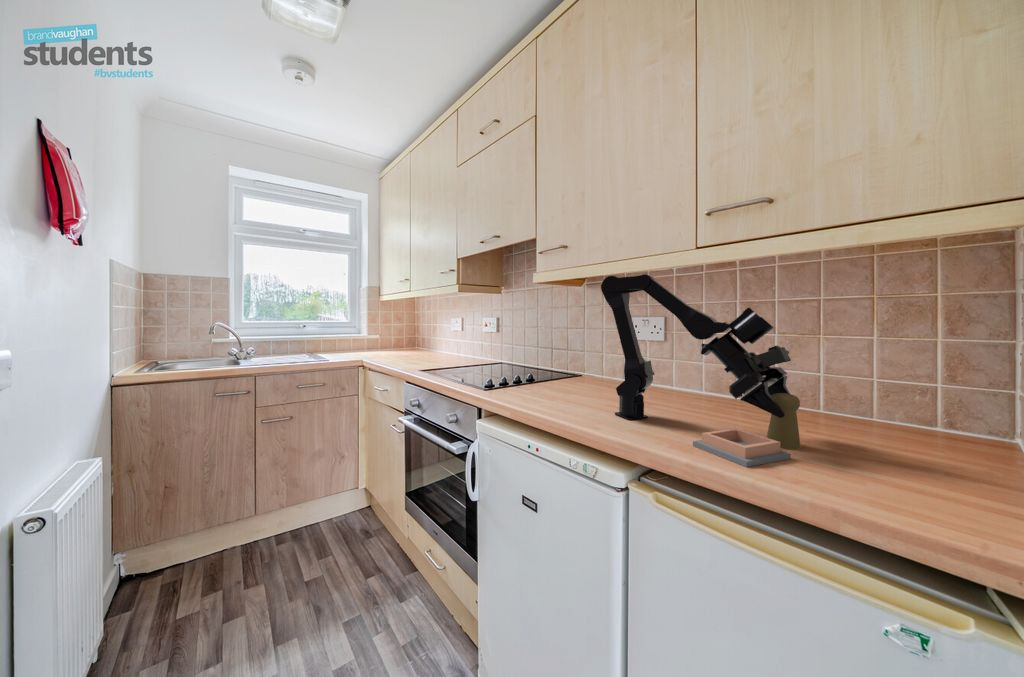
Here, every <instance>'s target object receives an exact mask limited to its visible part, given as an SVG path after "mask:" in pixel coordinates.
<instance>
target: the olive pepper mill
mask: <svg viewBox="0 0 1024 677" xmlns="http://www.w3.org/2000/svg"><path fill="white" fill-rule="evenodd" d="M772 398H773V399H774V400H775V401H776V403H777V404H778V405H779V407H780V408H781V409H782V411H783V412H784V414H785V416H784V417H782V418H779V417H777V416H775V415H773V414H771V413H770V414H771V415H770V421H769V424H768V430H767V435H766V438H769V439H772V440H775V441H779V442H780V449H783V450H785V449H786V450H800V449H801V448H802V447H801V440H800V430H799V423H798V415H797V414H798V413H797V411H798V410H799V409H798V408H800V406H801V400H800V398H799V397H798V396H796V395H794V394H792V393H790V394H786V393H776V394H773V395H772ZM797 409H798V410H797Z"/></svg>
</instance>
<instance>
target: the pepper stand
mask: <svg viewBox="0 0 1024 677" xmlns="http://www.w3.org/2000/svg"><path fill="white" fill-rule="evenodd" d="M692 446H693V447H696V448H698V449H700V450H703V451H705V452H708V453H710V454H712V455H714V456H718V457H720V458H723V459H725V460H727V461H730V462H732V463H735V464H737V465H740V466H742V467H745V468H748V467H753V466H759V465H762V464H763V465H764V464H769V463H773V462H779V461H784V460H789V459H791V456H792V453H791V452H787V451H786V450H781V448H780V442H779V441H775V440H772V439H769V438H767V436H766V437H765V436H762V435H759V434H755V433H752V432H748V431H745V430H742V429H739V428H735V427H733V428H727V429H722V430H713V431H707V432H702V434H701V439H698V440H693V441H692Z"/></svg>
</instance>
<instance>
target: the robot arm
mask: <svg viewBox="0 0 1024 677" xmlns="http://www.w3.org/2000/svg"><path fill="white" fill-rule="evenodd" d="M600 290H601V292H602V295H603V297H604V299H605V301H606V302H607V304H608V306H609V307H610V308H611V310H612V313H613V318H614V321H615V325H616V329H617V333H618V334H617V335H618V337H619V341H620V345H621V349H622V352H623V356H624V366H623V379H624V380H623V381H622V382H621V383H620V384H619V385H617V387H615V390H616V394H617V396H618V397H619V406H618V407H619V409H618V410H619V411H616V412H614V415H616V416H618V417H620V418H622V419H626V420H638V419H639V420H640V419H646V418H647V419H648V417H649V415H647V414H645V401H644V400H645V399H644V397H645V396H644V395H643V393H645V392H646V390H647V388H649V387H650V386H651V385H652V383H653V382H654V376H655V375H656V373H655V372H654V370H653V366H652V365H653V364H652V361H651V360H647V361H646V360H645V358H644V357H643V356H642V355H643V354H642V353H641V349H640V345H639V341H638V337H637V333H636V328H635V326H634V322H633V318H632V314H631V310H630V297H631V295H630V294H632V293H638V292H642V291H643V292H645V293H646V294H647V295H649V296H650V297H652V298H653V299H654V300H655V301H656V302H658V304H660V305H661V306H662V307H664V308H665V309H667V311H669V312H670V313H671V314H672V315H673V316H675V317H676V318H677V319H678V320H679V321H680V322H681V324H682V326H684V328H685V329H686V330H687V332H689V335H691V336H692V337H693V338H695V339H697V340H703V341H704V340H708V339H711V338H713V339H712V340H711V341H710V342H708V343H701V351H700V354H701V355H703V356H708V355H710V353H711V354H713V355H714V356H715V357H716V358H717V359H718V361H719V362H721V364H722V365H723V366H724V367H725V368H724V369H723V370H724V371H725V372H726V373H731V374H732V375H733V377H735V378H736V379H737V380H736V381H734V382H733V383H732V384H730V385H729V389H728V390H729V393H730V395H732V397H733V398H734V399H736V400H737V399H739V400H740V401H742V402H744V403H748V404H750V405H752V406H754V407H756V408H758V409H760V410H763V411H764V412H767V413H769V414H773V415H775V416H777V417H779V418H782V417H784V416H785V414H784V412H783V411H782V409H781V408H780V407H779V405H778V404H777V403H776V401H775V400H774V399H773V398H772V395H773V394H776V393H786V394H791V393H790V390H788V388H787V379H788V376H787V375H788V372H786V370H785V369H784V368H782V367H781V366H780V367H779V366H775V365H778V364H782V363H787V362H791V361H792V360H791V357H790V355H789V354H790V352H789V350H787V349H786V348H785V346H783V347H781V346H779V345H774V346H771V347H768V350H767V351H764V352H762V353H759V354H756V352H753V351H750V352H748V350H747V349H745V348H744V346H743V345H746V344H747V343H749V344H751V345H753V344H754V343H757V342H758V341H759V340H760V339H761V338H763V337H764V336H765V335H767V334H768V333H769V332H770V331H772V330H773V329H774V328H775V327H774V326H773V325H772V324H771V323H770V322H769V321H768V320H766V319H765V318H764V317H763V316H761V315H759V314H758V313H757V312H756V311H754V310H753V309H752V308H751V307H747V308H746V309H744V310H743V312H742V313H741V314H739V315H738V316H737V317H736V318H735V319H734V320H732V321H731V322H730V323H728V322H727V321H724V322H719V321H717V320H716V319H715V318H714V317H712V316H710V315H708V314H706V313H705V312H702V311H700V310H699V309H696V308H695V307H693V306H690V305H689V304H687V302H685V301H683V300H682V299H681V298H679V297H678V296H677V295H675V294H674V293H673V292H671V291H670V290H669V289H667V287H665V286H664V285H663V284H661V283H660V282H659V281H657V280H656V279H655V278H654V277H653V276H652V275H649V274H646V273H644V274H641V275H634V276H633V275H632V276H622V277H621V276H616V275H609V276H607V277H605V278H604V279H603V280H602V281H601V283H600ZM720 333H725V334H723V335H722V336H720V337H719V336H717V334H720ZM715 336H716V337H715ZM733 336H734V337H735V338H737V340H739V341H740V342H741V344H743V345H741V344H740V343H739V342H738V341H737V340H736V339H735V338H734V337H733ZM771 366H773V367H771ZM799 408H800V407H799ZM799 408H798V409H797V410H796V411H798V410H799Z"/></svg>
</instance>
